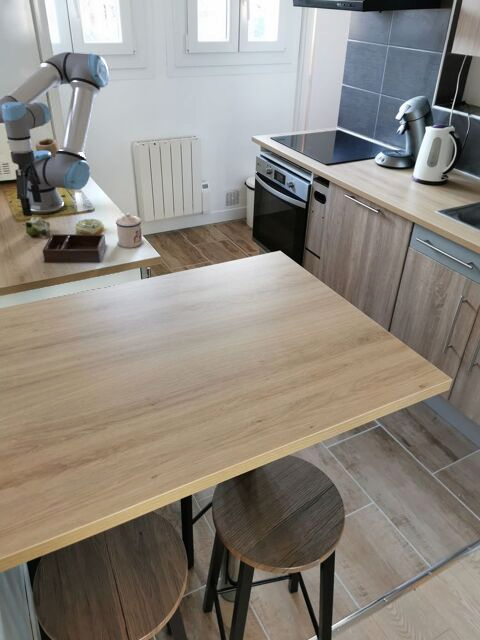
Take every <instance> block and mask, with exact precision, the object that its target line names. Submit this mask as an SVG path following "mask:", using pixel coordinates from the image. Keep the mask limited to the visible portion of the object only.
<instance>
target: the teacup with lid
mask: <svg viewBox="0 0 480 640" xmlns="http://www.w3.org/2000/svg"><path fill="white" fill-rule="evenodd" d="M115 224H116V228H117V238H118V245H119V246H121V247H122V248H137V247H139V246H141V245H142V243H143V235H142V219H141V218H140V217H139V216H137V215H132V214H131V213H130V212H126V213H125V214H124V215H122V216H120V217H118V218H117V219H116V220H115Z"/></svg>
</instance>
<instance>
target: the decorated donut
mask: <svg viewBox="0 0 480 640" xmlns="http://www.w3.org/2000/svg"><path fill="white" fill-rule="evenodd" d="M74 228H75V231H76V232H77V233H78V234H79V235H100V234H101V233H103V232H104V230H105V224H104V222H103V221H101V220H100V219H96V218H84V219H81V220H78V221H77V222H76V223H75V224H74Z"/></svg>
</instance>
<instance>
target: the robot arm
mask: <svg viewBox="0 0 480 640" xmlns="http://www.w3.org/2000/svg"><path fill="white" fill-rule="evenodd" d="M108 84H109V69H108V66H107V62H106V61H105V59H104V58H103V57H102V56H101V55H99V54H93V53H83V52H82V53H81V52H71V51H66V52H61V53H58V54H55V55H53V56H51V57H50V58H48V59H46V60H44V61H43V62H42V63H40V64H39V66H38V68H37V71H36V72H33V74H31V75H30V76H29V77H27V78H26V79H25V80H23V81H22V82H21V83H20V84H18V85H17V86H16V87H15V88H14V89H12V90H10V91H9V92H8V93H7V94H6V95H5V96H3V97H2V98H0V124H4V128H5V132H6V137H7V141H6V143H7V144H8V147H9V151H10V159H11V162H12V163H13V164H14V165H17V166H18V167H17V169H15V179H16V181H15V182H16V199H17V200H19V201H20V205H21V210H22V214H23V217H33V214H34V215H50V214H55V213H58V212H60V211H61V210H63V209H64V208H65V203H64V200H63V198H62V195H61V194H60V192H59V190H58V189H57V188H59V189H66V190H71V191H72V190H75V191H76V190H78V191H79V190H81V189H83V188H85V186H86V185H87V184H88V182H89V179H90V176H91V171H90V165H89V163H88V162H87V158H86V156H85V154H84V152H85V148H86V143H87V137H88V132H89V128H90V124H91V123H90V122H91V118H92V117H91V116H92V113H93V106H94V102H95V97H97V96H99V95H100V92H101V88H106V86H107V85H108ZM60 85H70V87H71V89H72V92H71V98H70V102H69V107H68V112H67V117H66V122H65V128H64V133H63V138H62V144H61V147H60V148H59V150H57V152H56V157H51V153H50V152H49V151H37V150H36V151H34V150H33V149H34V146H33V141H32V136H31V132H30V130H33V129H35V128H36V129H37V128H39V127H43V126H44V125H46V124H48V123H49V122H50V121H51V118H52V114H51V110H50V108H49V107H48V105H46V104H45V103H43V102H37V101H38V100H39V99H40V98H42V97H43V96H44V95H45V94H46V93H48V92H49V91H50V90H51V89H53V88H54V89H55V88H58V87H59V86H60Z"/></svg>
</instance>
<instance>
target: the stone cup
mask: <svg viewBox="0 0 480 640" xmlns="http://www.w3.org/2000/svg"><path fill="white" fill-rule="evenodd" d="M59 149H60V148H59V144H58V142H57V140H55V139H54V138H51V137H49V138H48V137H47V138H44V139H39V140H38V141H36V143H35V150H36V151H49V152H50V153H51V157H56V152H57V150H59Z"/></svg>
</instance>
